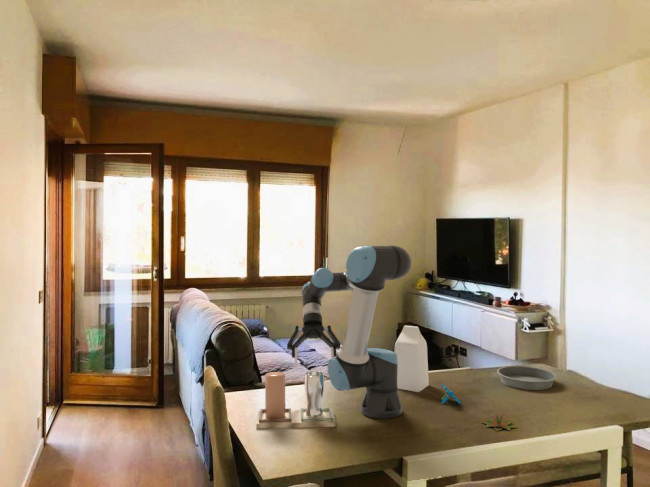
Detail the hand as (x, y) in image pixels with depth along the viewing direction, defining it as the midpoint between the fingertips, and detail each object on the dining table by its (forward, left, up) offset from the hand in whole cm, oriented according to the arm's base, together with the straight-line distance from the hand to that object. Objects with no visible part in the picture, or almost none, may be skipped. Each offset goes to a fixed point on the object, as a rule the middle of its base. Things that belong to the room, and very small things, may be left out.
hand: (314, 364), depth 200 cm
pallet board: (+2, +10, -18) cm, 21 cm away
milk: (-22, -48, -18) cm, 55 cm away
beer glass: (-3, +7, -16) cm, 18 cm away
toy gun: (-43, -33, -18) cm, 57 cm away
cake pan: (-66, -76, -18) cm, 102 cm away
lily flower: (-63, -17, -19) cm, 68 cm away
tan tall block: (+8, +14, -16) cm, 23 cm away
